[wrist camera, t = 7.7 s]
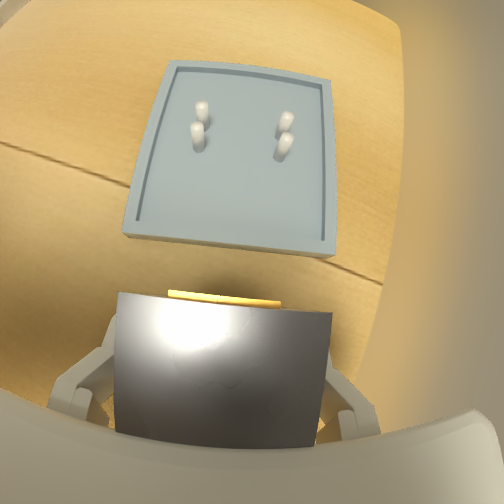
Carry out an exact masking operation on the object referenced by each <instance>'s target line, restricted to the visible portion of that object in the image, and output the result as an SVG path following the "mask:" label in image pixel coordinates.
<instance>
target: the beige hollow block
mask: <svg viewBox="0 0 504 504" xmlns="http://www.w3.org/2000/svg"><path fill="white" fill-rule="evenodd" d="M29 1H30V0H0V28H1V27H2V26H3V25H4V24H5V23H6V22H7V21H8V20H9V19H10V18H11V17H12V16H13V15H14V14H15V13H16V12H18V11H19V10H20V9H21V8H22V7H23V6H24V5H25V4H27V3H28V2H29Z"/></svg>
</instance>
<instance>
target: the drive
mask: <svg viewBox="0 0 504 504" xmlns="http://www.w3.org/2000/svg"><path fill="white" fill-rule="evenodd" d="M331 323H332V313H329V312H319V311H310V310H301V309H292V308H284V307H281V301H269V300H257V299H246V298H235V297H225V296H216V295H206V294H198V293H189V292H180V291H172V290H169V292H168V295H156V294H143V293H130V292H119V291H118V299H117V310H116V323H115V340H114V417H115V432H117V433H122V434H126V435H131V436H135V437H140V438H145V439H151V440H156V441H162V442H169V443H176V444H183V445H192V446H202V447H213V448H230V449H287V448H304V447H314V444H315V439H316V433H317V428H318V422H319V416H320V410H321V404H322V398H323V391H324V384H325V377H326V369H327V361H328V352H329V343H330V333H331Z"/></svg>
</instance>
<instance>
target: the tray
mask: <svg viewBox="0 0 504 504" xmlns="http://www.w3.org/2000/svg"><path fill="white" fill-rule="evenodd" d="M122 233H123V234H125V235H126V236H127V237H129V238H136V239H145V240H155V241H164V242H174V243H184V244H193V245H203V246H212V247H222V248H231V249H241V250H250V251H260V252H269V253H278V254H288V255H297V256H307V257H316V258H325V259H327V258H329V257H332V256H334V255H336V233H337V178H336V148H335V129H334V114H333V101H332V90H331V80H327V79H323V78H318V77H314V76H310V75H305V74H300V73H295V72H290V71H285V70H279V69H273V68H266V67H260V66H252V65H244V64H235V63H224V62H210V61H186V60H170V61H169V64H168V66H167V69H166V71H165V74H164V77H163V79H162V82H161V85H160V87H159V90H158V93H157V96H156V99H155V102H154V105H153V108H152V111H151V114H150V117H149V120H148V123H147V126H146V130H145V133H144V136H143V140H142V143H141V147H140V151H139V154H138V158H137V162H136V166H135V170H134V174H133V178H132V182H131V187H130V191H129V196H128V200H127V205H126V210H125V215H124V221H123V226H122Z"/></svg>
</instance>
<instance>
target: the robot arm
mask: <svg viewBox="0 0 504 504" xmlns="http://www.w3.org/2000/svg"><path fill="white" fill-rule="evenodd" d="M115 323H116V314H114V316H113V317H112V319H111V321H110V324H109V327H108V329H107V332H106V334H105V337H104V340H103V343H102V345H101V347H97V348H95V349H94V350H93V351H91V352H90V353H89V354H88V355H86V356H85V357H84V358H82V359H81V360H80V361H79V362H77V363H76V364H75V365H73V366H72V367H71V368H70V369H68V370H67V371H66V372H64V373H63V374H62V375H61V376H59V377H58V378H57V379H56V381H55V384H54V387H53V390H52V393H51V396H50V398H49V401H48V405H47V408H46V407H44V406H41V405H39V404H36V403H34V402H32V401H29V400H27V399H25V398H22V397H20V396H18V395H16V394H14V393H12V392H10V391H8V390H5V389H3V388H1V387H0V504H504V465H503V460H502V455H501V450H500V446H499V442H498V438H497V435H496V432H495V429H494V427H493V425H492V423H491V422H490V421H489V420H488V419H487V418H486V417H485V416H483V415H482V414H481V413H480V412H479V411H477V410H476V409H474V408H469V409H466V410H463V411H460V412H458V413H455V414H452V415H449V416H446V417H443V418H440V419H437V420H434V421H431V422H427V423H424V424H420V425H417V426H413V427H409V428H406V429H401V430H397V431H393V432H389V433H384V434H381V431H380V427H379V423H378V420H377V415H376V412H375V408H374V406H373V405H372V404H371V403H370V402H369V401H368V400H367V399H366V398H365V397H364V396H363V395H362V394H361V393H360V392H359V391H358V390H357V389H356V388H355V387H354V385H353V384H352V383H351V382H350V381H349V380H348V379H347V378H346V377H345V376H344V375H343V374H342V373H341V372H340V371H339V370H338V369H334V368H333V364H332V360H331V356H330V352H328V361H327V369H326V377H325V384H324V391H323V398H322V404H321V410H320V416H319V417H320V418H321V419H322V421H323V422H324V423H325V426H324V427H323V428H322V429H321V430H320V431H318V432H317V433H316V444H314V447H304V448H287V449H230V448H213V447H202V446H192V445H183V444H176V443H169V442H162V441H156V440H151V439H145V438H140V437H135V436H131V435H126V434H122V433H117V432H115V429H113V428H109V427H108V424H109V419H110V418H109V417H108V415H107V414H106V412H105V411H104V410H103V408H102V407H101V405H102V404H103V403H104V402H105V401H106V400H107V399H108V398H109V397H110V395H111V394H112V393H113V392H114V340H115Z"/></svg>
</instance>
